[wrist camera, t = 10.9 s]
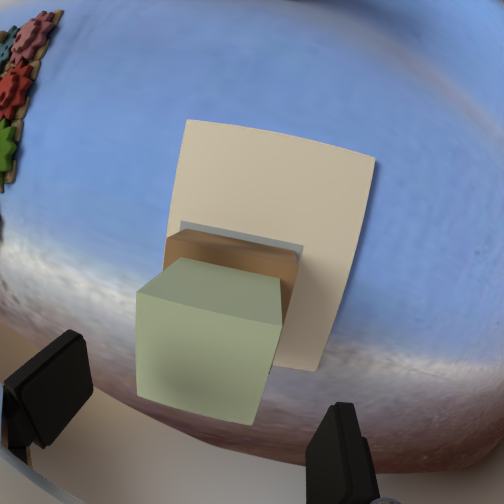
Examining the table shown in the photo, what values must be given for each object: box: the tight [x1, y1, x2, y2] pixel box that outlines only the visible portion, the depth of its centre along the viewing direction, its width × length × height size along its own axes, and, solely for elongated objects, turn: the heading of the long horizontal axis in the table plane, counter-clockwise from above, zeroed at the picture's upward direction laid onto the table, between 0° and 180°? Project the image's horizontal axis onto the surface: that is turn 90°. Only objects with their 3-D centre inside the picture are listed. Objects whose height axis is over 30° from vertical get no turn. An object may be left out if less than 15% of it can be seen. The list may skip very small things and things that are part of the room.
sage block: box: [136, 257, 282, 425], centre depth 14 cm, size 6×6×6 cm
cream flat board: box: [162, 120, 376, 372], centre depth 21 cm, size 14×18×1 cm
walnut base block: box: [163, 228, 299, 375], centre depth 19 cm, size 8×8×4 cm
